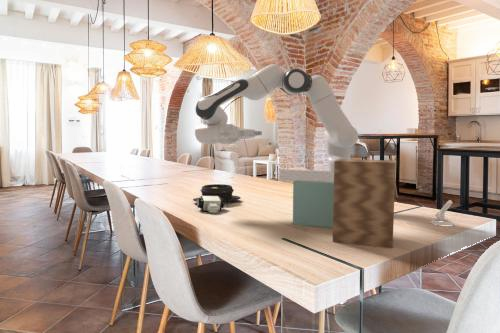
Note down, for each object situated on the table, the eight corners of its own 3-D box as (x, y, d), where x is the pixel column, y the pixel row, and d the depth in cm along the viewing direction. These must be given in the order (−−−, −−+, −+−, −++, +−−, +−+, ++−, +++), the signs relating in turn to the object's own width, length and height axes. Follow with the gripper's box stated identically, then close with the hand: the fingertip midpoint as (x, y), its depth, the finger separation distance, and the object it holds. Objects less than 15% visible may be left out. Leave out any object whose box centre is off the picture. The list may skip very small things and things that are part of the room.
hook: (461, 216, 134) (444, 203, 137) (442, 237, 141) (425, 225, 144) (468, 209, 139) (451, 197, 142) (448, 229, 146) (433, 218, 149)
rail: (279, 180, 146) (279, 170, 145) (283, 179, 149) (283, 169, 149) (353, 184, 134) (353, 173, 134) (354, 182, 138) (355, 172, 138)
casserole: (201, 208, 175) (201, 190, 174) (187, 201, 191) (187, 185, 190) (247, 203, 187) (247, 186, 187) (230, 197, 203) (230, 182, 203)
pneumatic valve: (227, 204, 163) (221, 195, 174) (201, 204, 160) (196, 194, 171) (226, 216, 165) (220, 206, 176) (200, 216, 161) (195, 206, 172)
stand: (332, 241, 120) (334, 161, 117) (337, 234, 129) (339, 159, 127) (392, 248, 113) (395, 162, 111) (392, 239, 122) (395, 160, 120)
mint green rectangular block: (292, 224, 143) (293, 181, 141) (297, 219, 150) (298, 179, 149) (337, 228, 137) (338, 183, 135) (340, 223, 144) (341, 181, 143)
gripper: (218, 126, 156) (248, 125, 151) (237, 127, 175) (265, 126, 170) (218, 141, 157) (249, 141, 152) (237, 140, 176) (265, 140, 171)
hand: (257, 133), depth 161 cm, fingers open, 8 cm apart
